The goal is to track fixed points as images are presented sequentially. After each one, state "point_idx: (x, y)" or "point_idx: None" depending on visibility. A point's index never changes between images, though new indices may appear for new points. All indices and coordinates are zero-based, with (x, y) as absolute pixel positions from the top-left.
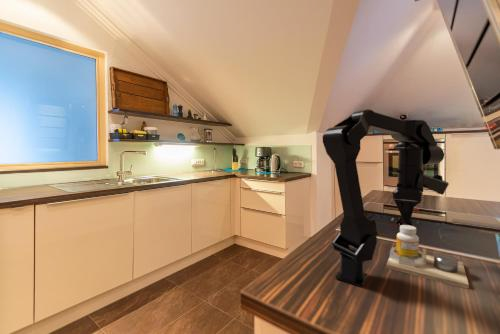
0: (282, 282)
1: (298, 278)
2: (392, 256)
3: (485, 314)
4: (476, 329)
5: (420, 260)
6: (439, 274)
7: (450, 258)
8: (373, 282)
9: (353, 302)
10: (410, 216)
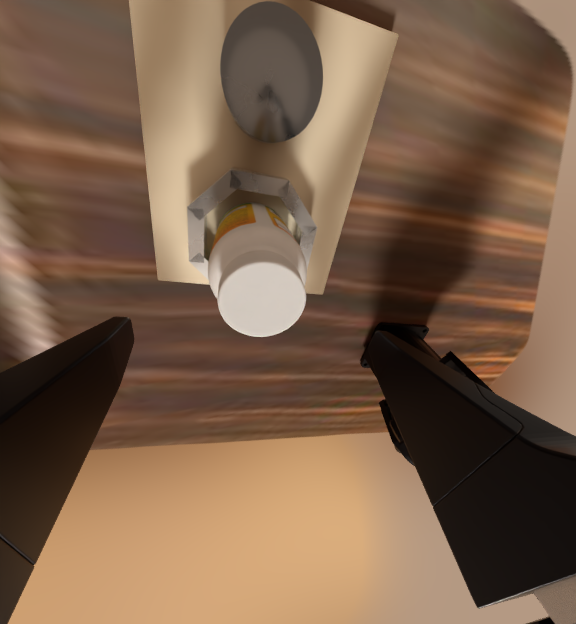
0: None
1: None
2: None
3: (524, 53)
4: (568, 116)
5: (302, 204)
6: (340, 139)
7: (279, 54)
8: (402, 309)
9: (472, 328)
10: (437, 365)
